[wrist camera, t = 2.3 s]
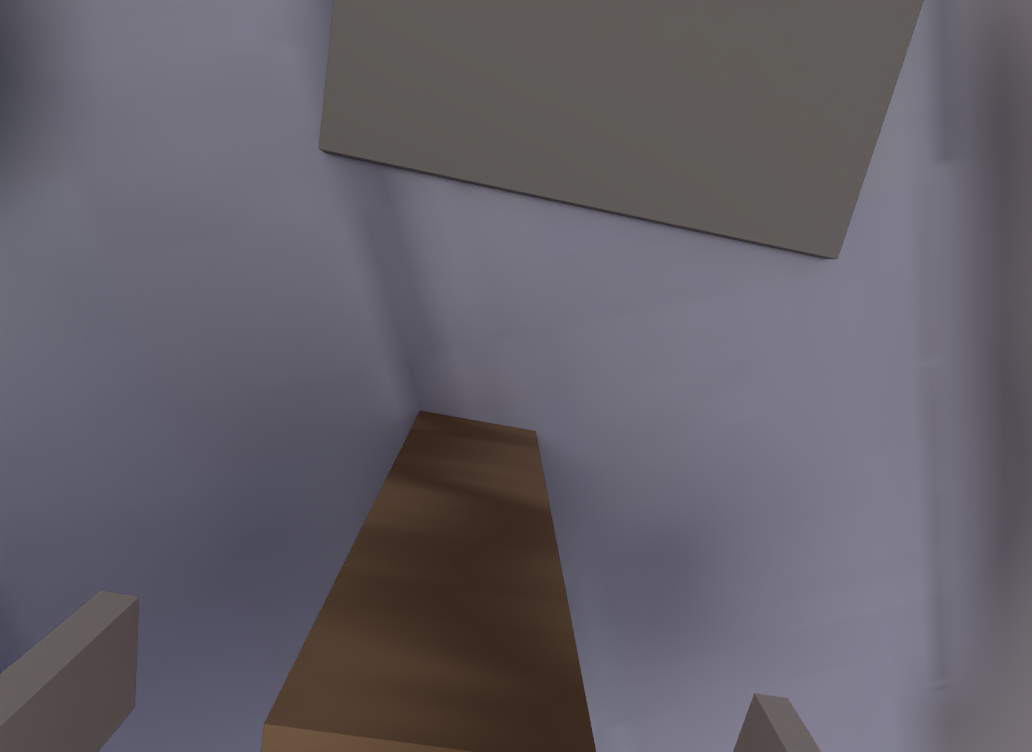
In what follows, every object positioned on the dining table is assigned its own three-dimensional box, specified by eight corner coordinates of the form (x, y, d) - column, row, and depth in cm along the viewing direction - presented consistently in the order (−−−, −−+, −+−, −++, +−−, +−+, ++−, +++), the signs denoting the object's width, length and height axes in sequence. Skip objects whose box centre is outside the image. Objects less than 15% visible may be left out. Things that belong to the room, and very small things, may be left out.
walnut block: (391, 588, 19) (223, 1107, 8) (420, 410, 18) (264, 723, 6) (497, 605, 20) (492, 1129, 8) (535, 431, 18) (599, 768, 6)
